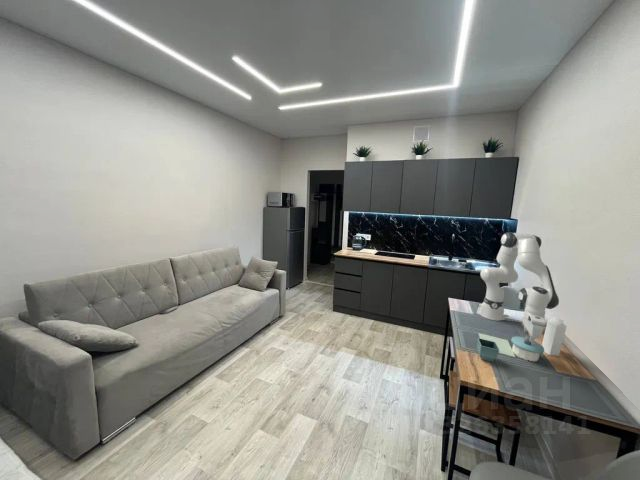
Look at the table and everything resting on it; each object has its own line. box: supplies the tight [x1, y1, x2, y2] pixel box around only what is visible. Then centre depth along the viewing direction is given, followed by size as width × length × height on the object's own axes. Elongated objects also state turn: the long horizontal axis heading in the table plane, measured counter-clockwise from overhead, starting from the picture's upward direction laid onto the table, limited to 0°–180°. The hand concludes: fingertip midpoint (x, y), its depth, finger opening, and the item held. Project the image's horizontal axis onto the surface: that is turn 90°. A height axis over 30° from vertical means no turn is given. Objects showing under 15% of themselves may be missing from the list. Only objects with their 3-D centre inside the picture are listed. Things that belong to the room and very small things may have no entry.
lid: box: [510, 335, 545, 354], centre depth 149 cm, size 15×15×5 cm
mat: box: [478, 332, 517, 359], centre depth 158 cm, size 20×16×1 cm
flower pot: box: [476, 337, 499, 362], centre depth 143 cm, size 9×9×9 cm
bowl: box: [511, 343, 541, 362], centre depth 150 cm, size 12×12×6 cm
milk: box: [541, 316, 567, 356], centre depth 153 cm, size 6×6×22 cm
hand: (528, 337), depth 148 cm, fingers open, 8 cm apart
